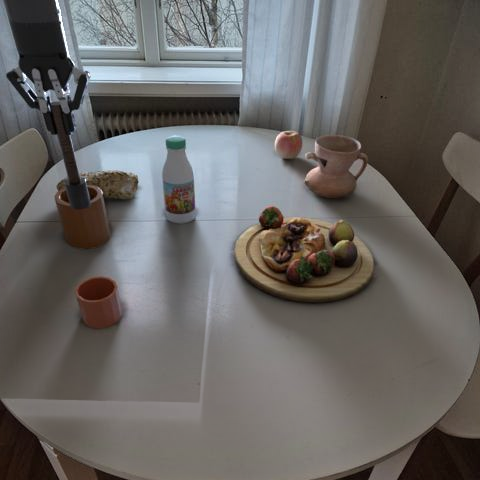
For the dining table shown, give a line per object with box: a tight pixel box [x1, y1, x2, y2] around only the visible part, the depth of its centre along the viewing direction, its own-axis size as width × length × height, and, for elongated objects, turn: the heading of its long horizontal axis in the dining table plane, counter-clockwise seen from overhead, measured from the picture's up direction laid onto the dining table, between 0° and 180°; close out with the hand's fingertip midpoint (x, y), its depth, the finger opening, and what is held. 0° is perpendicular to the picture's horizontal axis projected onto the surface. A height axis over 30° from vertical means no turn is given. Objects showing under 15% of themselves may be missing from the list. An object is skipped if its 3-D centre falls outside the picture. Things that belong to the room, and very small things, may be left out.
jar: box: [54, 185, 112, 250], centre depth 100 cm, size 10×10×11 cm
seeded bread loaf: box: [55, 170, 140, 200], centre depth 116 cm, size 13×8×20 cm
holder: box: [74, 275, 123, 329], centre depth 81 cm, size 7×8×7 cm
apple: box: [274, 130, 303, 160], centre depth 140 cm, size 9×9×8 cm
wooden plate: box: [233, 205, 375, 303], centre depth 97 cm, size 32×32×8 cm
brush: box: [49, 100, 91, 210], centre depth 80 cm, size 4×4×19 cm
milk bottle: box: [161, 135, 196, 224], centre depth 105 cm, size 8×8×20 cm
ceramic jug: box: [304, 134, 369, 199], centre depth 120 cm, size 18×14×14 cm
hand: (63, 133), depth 77 cm, fingers closed on brush, 2 cm apart
